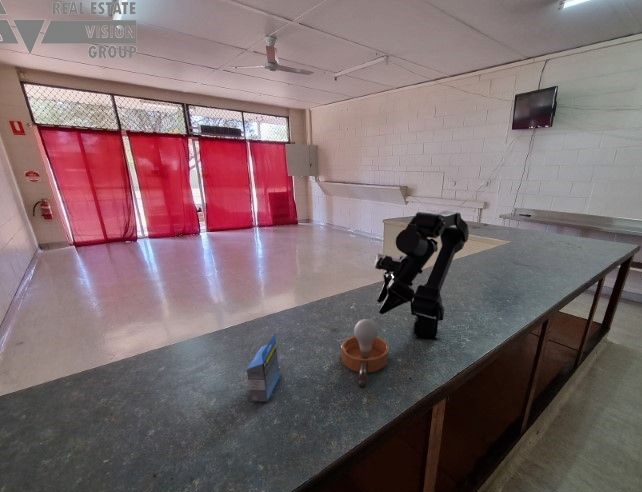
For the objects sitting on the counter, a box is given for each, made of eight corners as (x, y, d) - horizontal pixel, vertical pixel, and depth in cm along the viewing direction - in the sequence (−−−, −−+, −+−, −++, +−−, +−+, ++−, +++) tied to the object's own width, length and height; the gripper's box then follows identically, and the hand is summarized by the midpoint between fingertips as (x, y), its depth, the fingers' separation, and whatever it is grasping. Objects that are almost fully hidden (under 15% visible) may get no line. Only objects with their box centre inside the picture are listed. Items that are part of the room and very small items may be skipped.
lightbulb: (380, 353, 85) (381, 317, 81) (372, 366, 80) (374, 327, 76) (358, 349, 87) (359, 313, 83) (350, 361, 82) (350, 323, 78)
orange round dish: (387, 348, 89) (388, 335, 88) (388, 374, 78) (389, 361, 76) (344, 346, 89) (344, 333, 88) (339, 372, 78) (339, 359, 77)
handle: (367, 366, 77) (367, 359, 77) (366, 390, 69) (366, 383, 68) (360, 365, 77) (360, 359, 77) (357, 390, 69) (358, 383, 68)
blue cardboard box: (264, 375, 76) (259, 330, 72) (280, 376, 76) (276, 331, 72) (250, 401, 68) (243, 352, 63) (268, 402, 68) (262, 353, 63)
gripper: (386, 237, 88) (354, 281, 91) (393, 246, 70) (353, 301, 73) (417, 259, 90) (385, 302, 93) (432, 274, 72) (392, 327, 75)
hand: (379, 307), depth 83 cm, fingers open, 9 cm apart
